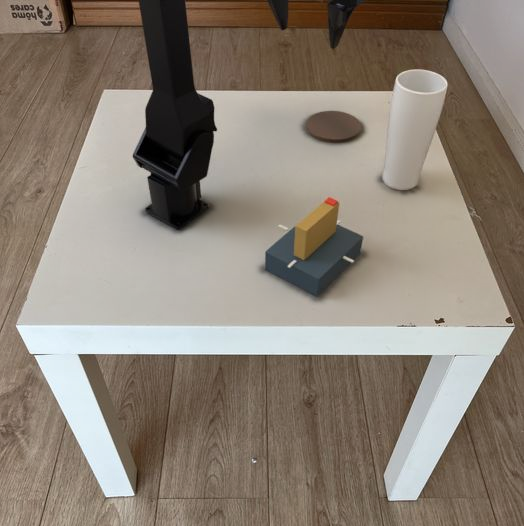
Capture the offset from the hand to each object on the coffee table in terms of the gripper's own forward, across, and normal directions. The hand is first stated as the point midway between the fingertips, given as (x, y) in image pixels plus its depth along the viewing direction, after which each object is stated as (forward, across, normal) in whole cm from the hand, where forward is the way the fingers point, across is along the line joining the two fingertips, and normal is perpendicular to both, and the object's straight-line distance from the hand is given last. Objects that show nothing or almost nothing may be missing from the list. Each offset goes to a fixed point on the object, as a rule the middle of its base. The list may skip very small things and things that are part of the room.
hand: (308, 38), depth 84 cm
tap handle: (+10, -21, +24) cm, 34 cm away
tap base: (+13, -21, +25) cm, 35 cm away
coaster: (+15, -3, -3) cm, 15 cm away
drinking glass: (+15, -19, +2) cm, 24 cm away
